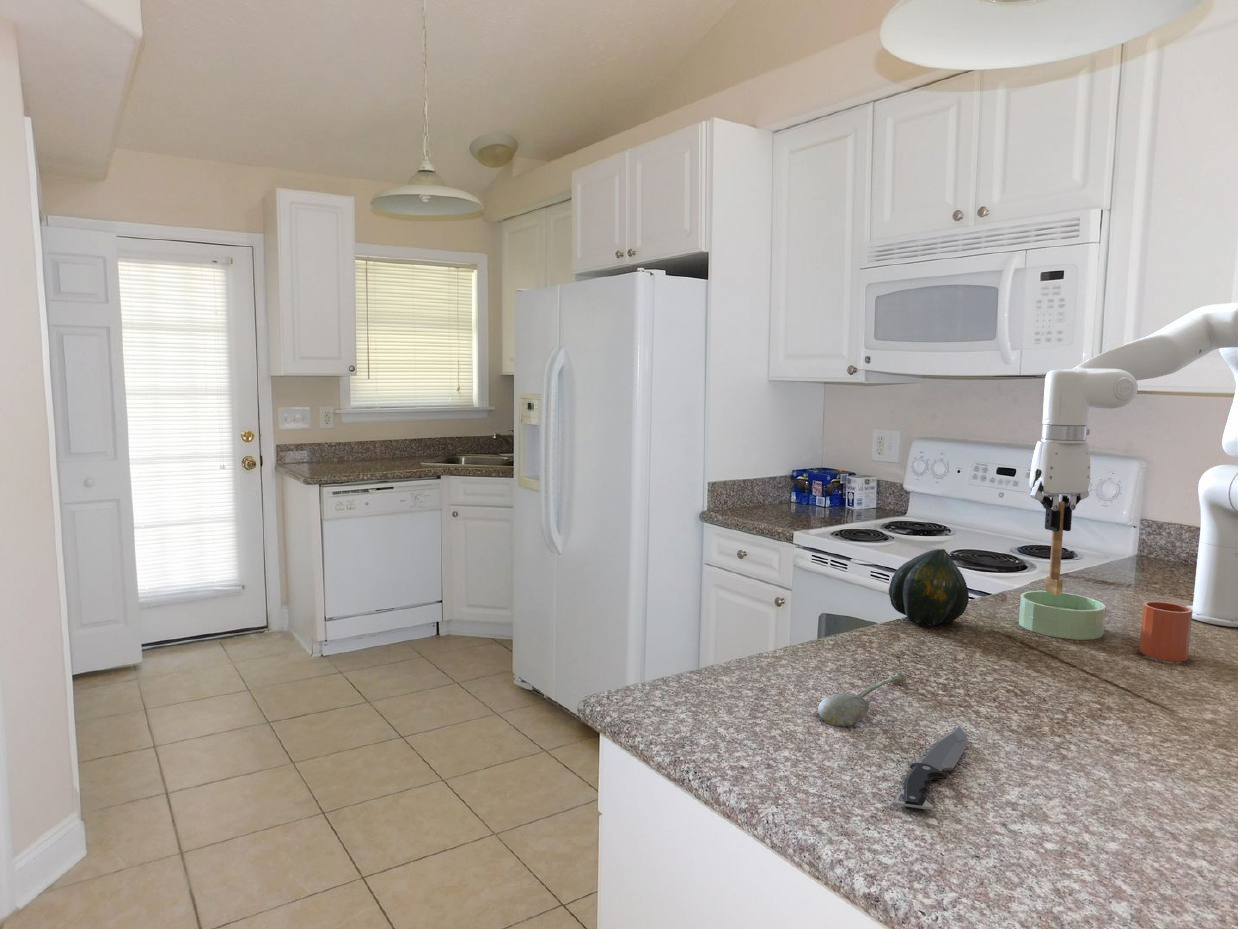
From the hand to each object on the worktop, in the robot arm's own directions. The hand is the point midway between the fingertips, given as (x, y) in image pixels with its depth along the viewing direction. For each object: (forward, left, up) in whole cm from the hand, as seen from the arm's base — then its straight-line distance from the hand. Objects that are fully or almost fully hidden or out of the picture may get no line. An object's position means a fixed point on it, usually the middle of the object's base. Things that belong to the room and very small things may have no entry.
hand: (1057, 529), depth 156 cm
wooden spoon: (0, 0, -13) cm, 13 cm away
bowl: (0, +3, -19) cm, 19 cm away
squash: (+22, -7, -19) cm, 30 cm away
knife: (+57, +49, -19) cm, 78 cm away
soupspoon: (+55, +29, -19) cm, 65 cm away
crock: (-7, +19, -19) cm, 28 cm away
